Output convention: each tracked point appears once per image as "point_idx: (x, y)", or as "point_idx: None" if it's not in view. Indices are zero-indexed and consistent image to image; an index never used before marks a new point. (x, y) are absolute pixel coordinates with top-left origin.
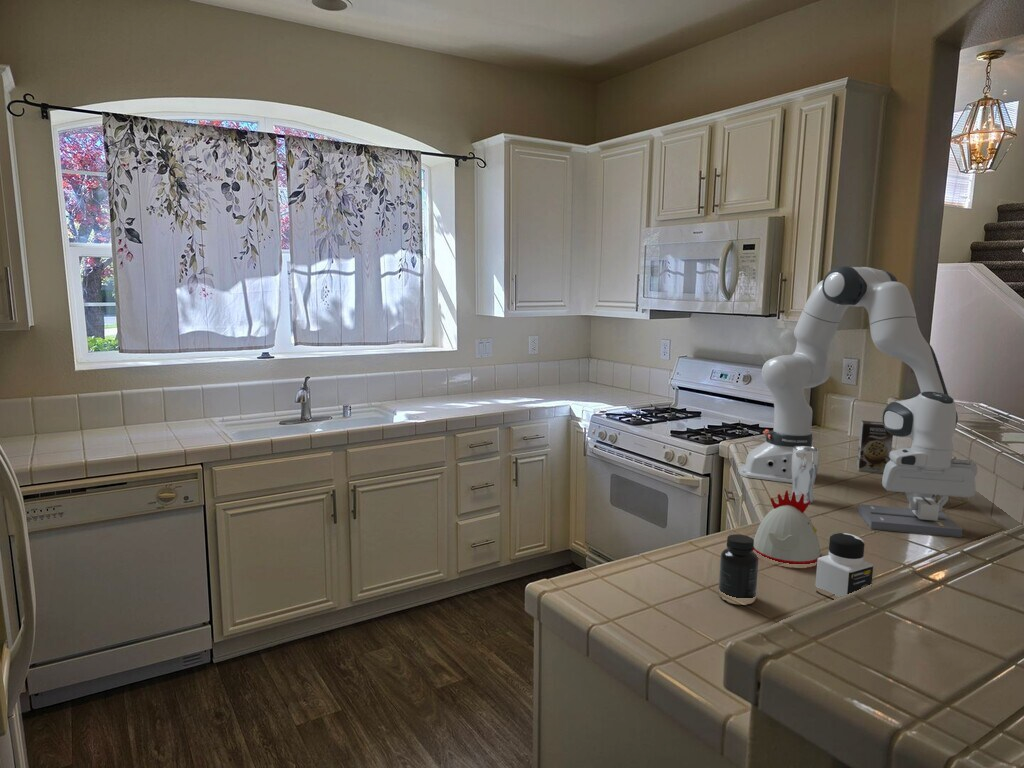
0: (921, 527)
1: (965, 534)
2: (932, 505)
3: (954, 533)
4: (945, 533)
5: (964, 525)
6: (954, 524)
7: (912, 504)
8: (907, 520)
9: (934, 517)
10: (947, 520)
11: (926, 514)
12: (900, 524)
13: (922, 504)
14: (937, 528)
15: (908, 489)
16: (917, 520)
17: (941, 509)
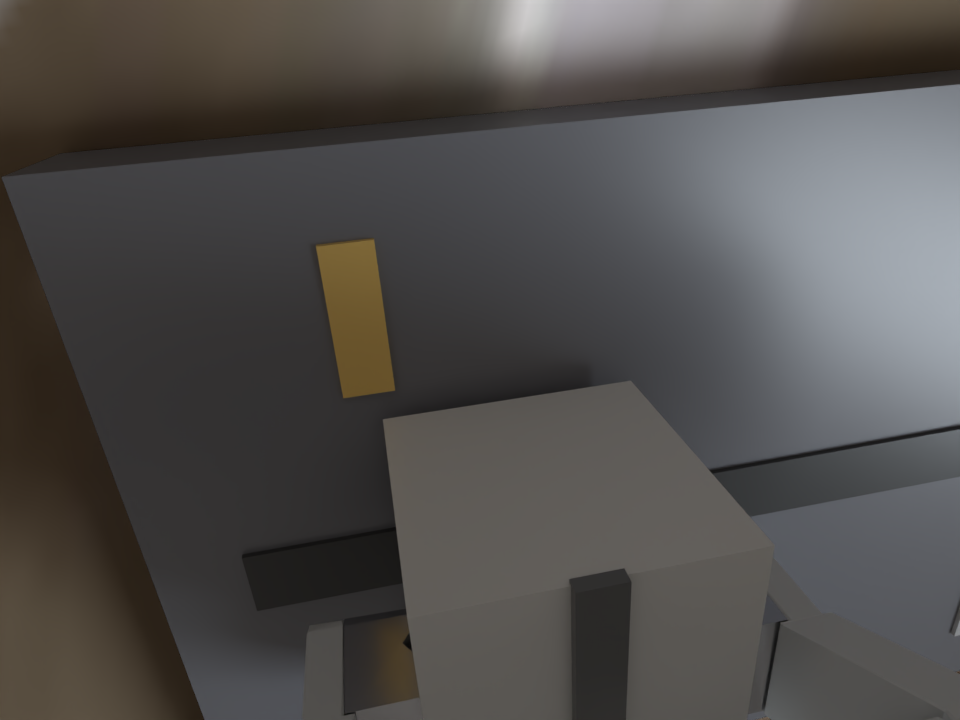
0: (662, 109)
1: (4, 332)
2: (543, 579)
3: (162, 150)
4: (299, 135)
5: (16, 666)
6: (133, 413)
7: (799, 598)
8: (783, 311)
9: (438, 437)
10: (221, 550)
11: (572, 439)
12: (956, 82)
13: (742, 540)
14: (430, 131)
15: None
16: (646, 366)
17: (316, 655)
